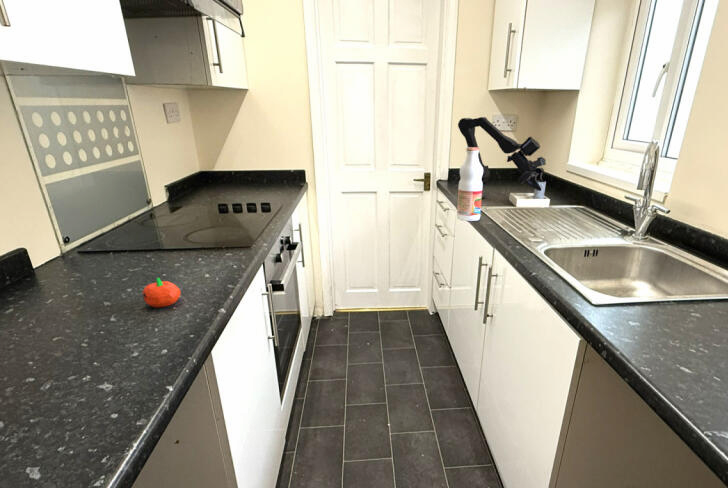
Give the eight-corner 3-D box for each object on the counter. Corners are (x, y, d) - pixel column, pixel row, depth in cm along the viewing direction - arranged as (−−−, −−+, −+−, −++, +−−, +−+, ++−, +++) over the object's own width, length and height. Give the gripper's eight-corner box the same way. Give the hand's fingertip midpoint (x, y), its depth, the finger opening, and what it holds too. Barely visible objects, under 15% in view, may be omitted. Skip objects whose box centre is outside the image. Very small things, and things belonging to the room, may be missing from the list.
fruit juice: (457, 215, 173) (460, 146, 162) (479, 216, 172) (484, 146, 161) (456, 221, 164) (460, 148, 154) (480, 222, 163) (485, 148, 152)
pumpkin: (160, 314, 89) (153, 287, 87) (139, 306, 93) (132, 280, 90) (190, 302, 95) (184, 276, 93) (169, 295, 99) (163, 270, 96)
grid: (509, 200, 203) (509, 193, 201) (539, 200, 202) (540, 193, 201) (516, 206, 189) (517, 199, 187) (548, 207, 188) (549, 199, 187)
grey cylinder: (531, 202, 194) (534, 180, 190) (540, 202, 194) (544, 180, 190) (534, 204, 190) (537, 181, 186) (544, 204, 190) (547, 181, 186)
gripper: (528, 152, 178) (550, 180, 176) (542, 149, 192) (563, 175, 190) (509, 169, 186) (530, 196, 184) (524, 165, 199) (543, 190, 198)
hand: (542, 189), depth 189 cm, fingers closed on grey cylinder, 4 cm apart
